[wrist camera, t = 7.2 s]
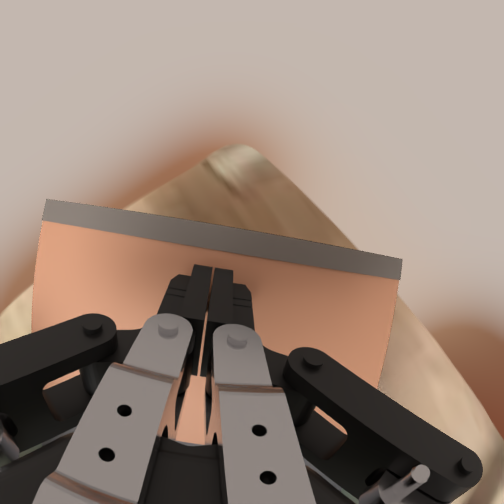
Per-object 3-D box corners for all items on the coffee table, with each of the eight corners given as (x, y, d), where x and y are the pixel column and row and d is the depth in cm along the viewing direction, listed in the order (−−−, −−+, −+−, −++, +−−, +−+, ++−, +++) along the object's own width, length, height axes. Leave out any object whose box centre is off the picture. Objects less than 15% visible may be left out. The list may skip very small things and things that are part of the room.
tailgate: (359, 446, 12) (402, 259, 13) (34, 397, 10) (46, 198, 11) (348, 434, 13) (387, 260, 14) (46, 389, 11) (60, 204, 12)
